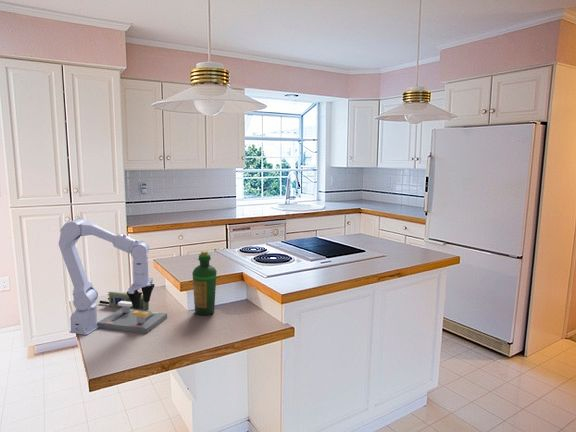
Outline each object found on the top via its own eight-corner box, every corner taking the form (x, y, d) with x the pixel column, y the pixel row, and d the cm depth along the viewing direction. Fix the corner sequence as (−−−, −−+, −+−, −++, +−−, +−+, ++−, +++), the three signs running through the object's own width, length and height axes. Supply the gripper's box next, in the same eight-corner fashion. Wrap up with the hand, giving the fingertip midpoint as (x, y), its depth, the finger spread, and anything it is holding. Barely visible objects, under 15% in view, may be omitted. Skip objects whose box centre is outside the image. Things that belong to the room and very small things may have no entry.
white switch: (130, 313, 170) (130, 304, 169) (118, 312, 171) (117, 302, 170) (134, 311, 172) (133, 302, 171) (121, 310, 173) (121, 300, 173)
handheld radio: (145, 312, 178) (97, 305, 184) (149, 309, 182) (102, 303, 187) (145, 297, 178) (97, 291, 184) (149, 295, 181) (102, 289, 187)
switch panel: (146, 333, 157) (146, 328, 156) (97, 327, 161) (97, 322, 161) (167, 317, 172) (167, 313, 172) (121, 312, 177) (121, 307, 176)
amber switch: (145, 324, 159) (145, 314, 159) (132, 322, 161) (132, 312, 160) (149, 321, 162) (148, 312, 161) (135, 320, 163) (135, 310, 162)
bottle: (190, 309, 182) (190, 249, 178) (214, 306, 186) (214, 248, 182) (194, 318, 172) (194, 255, 168) (219, 315, 176) (219, 253, 172)
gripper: (139, 278, 151) (140, 312, 153) (159, 268, 165) (159, 299, 167) (122, 277, 153) (124, 310, 155) (143, 267, 167) (144, 298, 169)
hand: (141, 305), depth 161 cm, fingers open, 7 cm apart
